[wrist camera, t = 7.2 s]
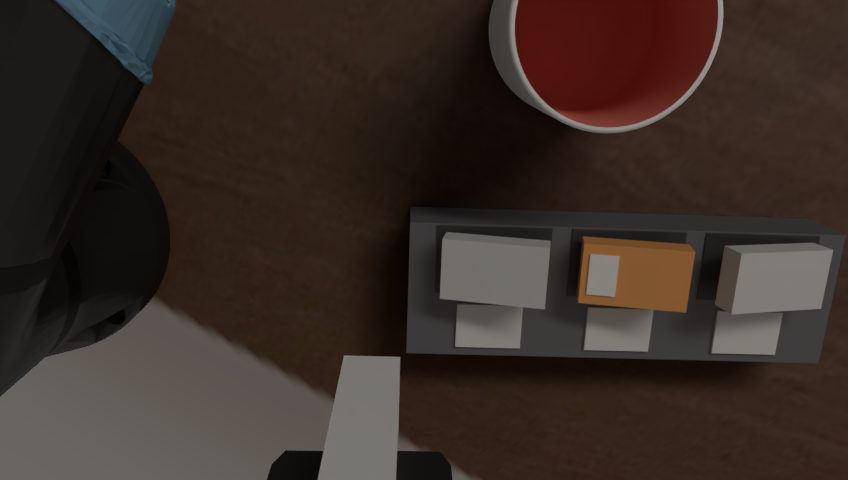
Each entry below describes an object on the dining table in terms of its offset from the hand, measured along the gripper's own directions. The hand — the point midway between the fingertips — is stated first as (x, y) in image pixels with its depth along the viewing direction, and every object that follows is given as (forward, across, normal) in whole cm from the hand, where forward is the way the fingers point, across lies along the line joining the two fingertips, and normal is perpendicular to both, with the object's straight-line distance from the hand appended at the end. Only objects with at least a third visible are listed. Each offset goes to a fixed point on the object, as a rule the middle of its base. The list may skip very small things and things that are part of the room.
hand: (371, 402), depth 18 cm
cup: (+27, +10, +10) cm, 30 cm away
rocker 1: (+21, +6, -3) cm, 22 cm away
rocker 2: (+21, +14, -3) cm, 25 cm away
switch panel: (+26, +14, -5) cm, 30 cm away
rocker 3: (+21, +22, -3) cm, 31 cm away
